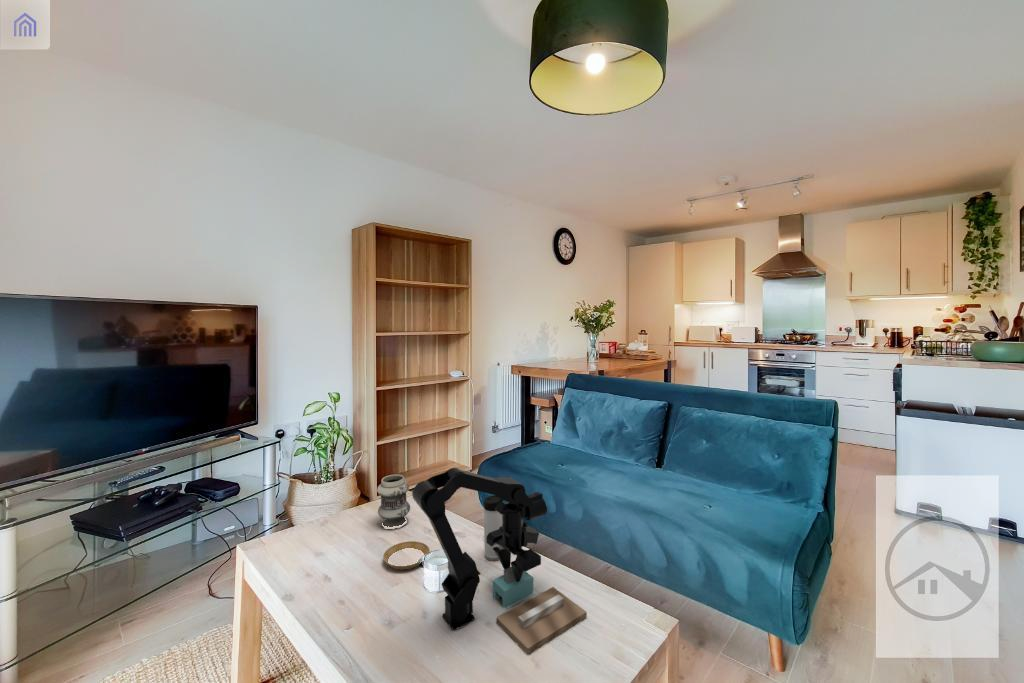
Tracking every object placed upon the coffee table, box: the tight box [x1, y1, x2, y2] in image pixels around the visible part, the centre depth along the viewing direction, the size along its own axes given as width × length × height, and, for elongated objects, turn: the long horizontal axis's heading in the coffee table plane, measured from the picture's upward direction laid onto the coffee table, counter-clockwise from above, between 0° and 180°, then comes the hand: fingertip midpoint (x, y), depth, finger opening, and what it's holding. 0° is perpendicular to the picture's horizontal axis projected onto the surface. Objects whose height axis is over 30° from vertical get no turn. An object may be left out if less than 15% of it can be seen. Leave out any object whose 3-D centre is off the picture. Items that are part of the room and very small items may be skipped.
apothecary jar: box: [376, 473, 411, 527], centre depth 162 cm, size 12×12×18 cm
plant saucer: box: [383, 540, 430, 570], centre depth 138 cm, size 15×15×3 cm
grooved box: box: [492, 566, 534, 609], centre depth 120 cm, size 10×6×8 cm, turn 127°
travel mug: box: [483, 494, 504, 562], centre depth 139 cm, size 6×7×20 cm
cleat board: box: [495, 586, 588, 655], centre depth 110 cm, size 20×13×4 cm, turn 127°
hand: (512, 577), depth 120 cm, fingers open, 5 cm apart
